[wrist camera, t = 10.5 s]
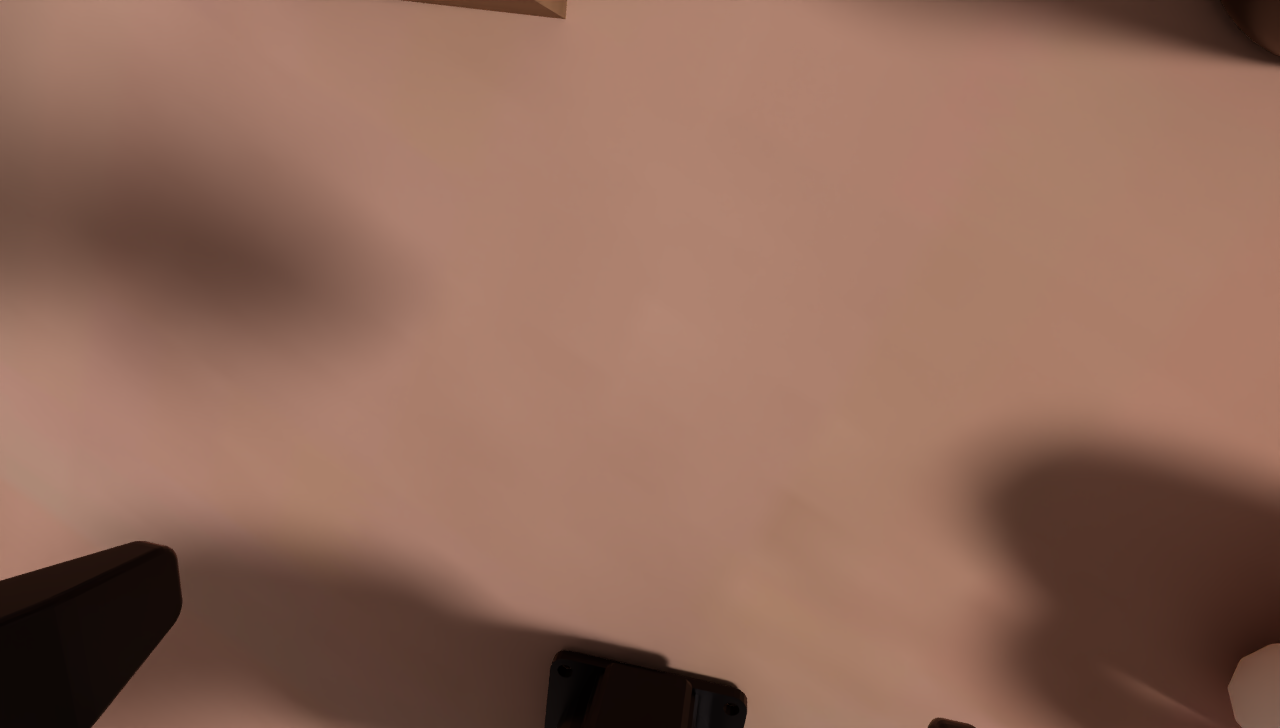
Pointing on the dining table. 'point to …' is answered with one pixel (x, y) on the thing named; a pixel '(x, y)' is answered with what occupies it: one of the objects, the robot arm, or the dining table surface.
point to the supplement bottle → (1257, 21)
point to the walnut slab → (510, 6)
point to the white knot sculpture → (1257, 689)
